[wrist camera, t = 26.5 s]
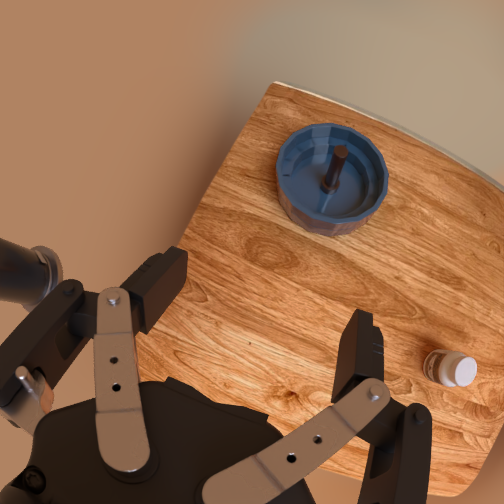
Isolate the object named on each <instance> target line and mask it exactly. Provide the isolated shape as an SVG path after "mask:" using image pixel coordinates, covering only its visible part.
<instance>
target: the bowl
mask: <svg viewBox="0 0 504 504" xmlns="http://www.w3.org/2000/svg"><path fill="white" fill-rule="evenodd" d="M337 145H343V146H345V147H346V148H347V149H348V156H347V158H346V161H345V164H344V166H343V169H342V171H341V174H340V177H339V180H340V185H339V188H338V190H337V192H336V193H335V194H332V195H328V194H325V193H324V192H323V191H322V190H321V188H320V184H321V180H322V178H323V176H324V175H326V174H327V171H328V168H329V164H330V161H331V157H332V154H333V150H334V148H335V146H337ZM388 178H389V173H388V170H387V167H386V164H385V161H384V158H383V155H382V154H381V153H380V151H379V150H378V149H377V148H376V146H375V145H374V144H373V143H372V142H371V140H370V139H369V138H367V137H365V136H364V135H362V134H361V133H359V132H357V131H356V130H354V129H352V128H350V127H346V126H342V125H338V124H334V123H322V124H311V125H309V126H307V127H304V128H302V129H300V130H298V131H296V132H294V133H293V134H292V135H291V136H290V137H289V138H288V139H287V140H286V142H285V143H284V144H283V145H282V146H281V148H280V151H279V155H278V158H277V162H276V186H277V191H278V197H279V202H280V204H281V205H282V207H283V208H284V210H285V211H286V213H287V214H288V216H289V217H290V219H291V220H293V221H294V222H296V223H297V224H299V225H300V226H301V227H303V228H304V229H306V230H307V231H309V232H313V233H318V234H322V235H326V236H336V235H343V234H349V233H351V232H353V231H355V230H356V229H358V228H359V227H361V226H363V225H364V224H366V223H367V221H368V220H369V219H370V218H371V217H372V215H373V214H374V213H375V212H376V211H377V209H378V208H379V206H380V204H381V203H382V201H383V199H384V198H385V196H386V194H387V189H388Z"/></svg>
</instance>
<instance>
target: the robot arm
mask: <svg viewBox="0 0 504 504" xmlns="http://www.w3.org/2000/svg"><path fill="white" fill-rule="evenodd" d="M187 260H188V253H187V251H185V250H182V249H179V248H177V247H174V246H171V247H170V248H169V249H168V250H167V251H166V252H165V253H164V254H161V253H158V254H155V255H153V256H151V257H149V258H148V259H147V260H146V261H145V262H144V263H143V265H141V266H140V267H139V268H138V270H136V271H135V272H134V273H133V274H132V275H131V276H130V277H129V278H128V279H127V280H126V281H125V282H124V283H123V284H122V285H121V286H120V287H110V288H107V289H105V290H103V291H102V292H101V293H95V292H89V291H84V288H83V285H82V283H81V282H80V281H78V280H74V279H68V280H64V281H62V282H60V283H59V284H58V285H57V286H56V287H55V288H54V289H53V290H52V291H51V292H50V290H51V287H52V281H53V271H52V266H51V263H50V261H49V259H48V258H47V256H46V255H44V254H42V253H40V252H39V251H37V250H35V251H33V250H30V249H27V248H25V247H22V246H20V245H17V244H14V243H12V242H9V241H6V240H4V239H1V238H0V300H2V301H8V302H14V303H20V304H26V305H29V306H36V307H35V308H34V309H33V310H32V311H31V312H30V313H29V314H28V316H27V317H26V318H25V319H24V320H23V321H22V322H21V323H20V324H19V325H18V326H17V327H16V329H15V330H14V331H13V332H12V333H11V334H10V335H9V336H8V338H7V339H6V340H5V341H4V342H3V343H2V344H1V346H0V414H1V415H2V416H3V417H4V418H5V419H7V420H8V421H9V422H10V423H11V424H12V425H13V426H15V427H18V428H22V429H23V430H25V432H27V433H28V434H29V435H31V436H32V437H33V445H32V452H31V456H30V459H29V462H28V464H27V466H26V468H25V469H24V470H23V471H22V472H21V473H20V474H19V475H18V476H17V477H16V478H14V479H13V480H12V481H11V482H10V483H8V484H7V485H6V486H5V487H4V488H3V489H2V491H1V492H0V504H316V503H315V501H314V499H313V497H312V494H311V492H310V490H309V488H308V486H307V484H306V482H305V480H304V477H305V476H307V475H308V474H309V473H310V472H312V471H313V470H315V469H316V468H317V467H319V466H320V465H321V464H322V463H324V462H325V461H326V460H327V459H329V458H330V457H331V456H332V455H334V454H335V453H336V452H337V451H338V450H340V449H341V448H342V447H343V446H344V445H345V444H347V443H348V442H349V441H350V440H351V439H352V438H353V437H354V436H357V437H359V438H361V439H363V440H364V441H366V442H368V443H370V448H369V453H368V459H367V464H366V469H365V473H364V478H363V482H362V487H361V491H360V495H359V499H358V503H357V504H426V499H427V492H428V483H429V473H430V462H431V445H432V416H431V413H430V411H429V410H428V408H427V407H425V406H424V405H422V404H420V403H412V404H410V405H409V406H408V407H406V406H404V405H402V404H401V403H399V402H397V401H395V400H394V399H393V398H391V397H390V391H389V389H388V387H387V386H386V384H385V383H384V355H383V354H384V348H383V346H384V341H383V335H382V333H381V331H380V328H379V327H376V326H373V314H372V313H369V312H366V311H363V310H360V309H356V310H355V312H354V313H353V315H352V317H351V319H350V321H349V322H348V324H347V326H346V328H345V329H344V331H343V333H342V336H341V339H340V343H339V350H338V357H337V365H336V372H335V379H334V385H333V391H332V398H331V403H334V405H333V406H328V407H327V408H325V409H324V410H323V411H321V412H320V413H318V414H317V415H316V416H314V417H313V418H311V419H310V420H309V421H307V422H306V423H304V424H303V425H301V426H300V427H298V428H297V429H295V430H294V431H292V432H291V433H289V434H288V435H286V436H285V437H284V436H283V435H282V434H281V432H280V431H279V430H278V429H276V428H275V427H274V426H273V425H271V424H270V423H268V422H267V419H268V416H269V415H268V414H264V413H261V412H258V411H255V410H252V409H249V408H247V407H244V406H236V405H229V404H221V403H216V402H213V401H212V400H210V399H209V398H207V397H206V396H204V395H203V394H202V393H200V392H199V391H197V390H196V389H195V388H193V387H192V386H190V385H187V384H185V383H183V382H180V381H178V380H176V379H174V378H172V377H169V376H168V377H167V379H166V381H165V382H161V381H145V382H142V381H141V376H140V370H139V363H138V356H137V348H136V339H135V336H136V334H137V333H138V332H139V331H140V332H142V333H144V334H146V335H147V334H148V333H149V331H150V330H151V329H152V327H153V326H154V325H155V323H156V322H157V321H158V319H159V318H160V317H161V315H162V314H163V313H164V312H165V310H166V309H167V308H168V306H169V305H170V304H171V302H172V301H173V300H174V299H175V297H176V296H177V295H178V293H179V292H180V291H181V290H182V288H183V286H184V284H185V281H186V275H187ZM91 338H92V339H94V378H95V393H96V394H95V395H96V397H95V398H92V399H89V400H86V401H83V402H80V403H77V404H74V405H70V406H67V407H63V408H60V409H57V410H53V411H51V412H50V410H51V409H52V404H53V401H54V393H53V389H54V387H55V386H56V385H57V383H58V382H59V380H60V379H61V378H62V376H63V374H64V373H65V372H66V371H67V369H68V368H69V367H70V365H71V364H72V362H73V361H74V360H75V358H76V357H77V356H78V354H79V353H80V352H81V350H82V349H83V348H84V346H85V345H86V344H87V343H88V341H89V340H90V339H91Z"/></svg>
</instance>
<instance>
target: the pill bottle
mask: <svg viewBox="0 0 504 504" xmlns="http://www.w3.org/2000/svg"><path fill="white" fill-rule="evenodd" d="M423 371H424V375H425V376H426V378H427V379H428V380H430V381H433V382H436V383H439V384H441V385H444V386H448V387H454V386H457V385H458V386H467V385H468V384H470V383H471V382H472V381H473V379H474V378H475V375H476V372H477V364H476V362H475V360H474V359H473V358H472V357H468V356H465V355H464V354H463V353H462V352H458V351H450V350H442V349H437V350H434V351H432V352H431V353H430V354H429V355H428V356H427V357H426V359H425V361H424V365H423Z"/></svg>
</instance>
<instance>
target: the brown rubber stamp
mask: <svg viewBox="0 0 504 504" xmlns="http://www.w3.org/2000/svg"><path fill="white" fill-rule="evenodd" d="M347 156H348V149H347V148H346V147H345V146H343V145H337V146H335V148H334V150H333V154H332V157H331V161H330V164H329V168H328V171H327V174H326V175H324V176H323V178H322V180H321V184H320V188H321V190H322V191H323V192H324V193H325V194H328V195H332V194H335V193H336V192H337V190H338V188H339V185H340V180H339V177H340V174H341V171H342V169H343V166H344V164H345V161H346V158H347Z"/></svg>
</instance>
